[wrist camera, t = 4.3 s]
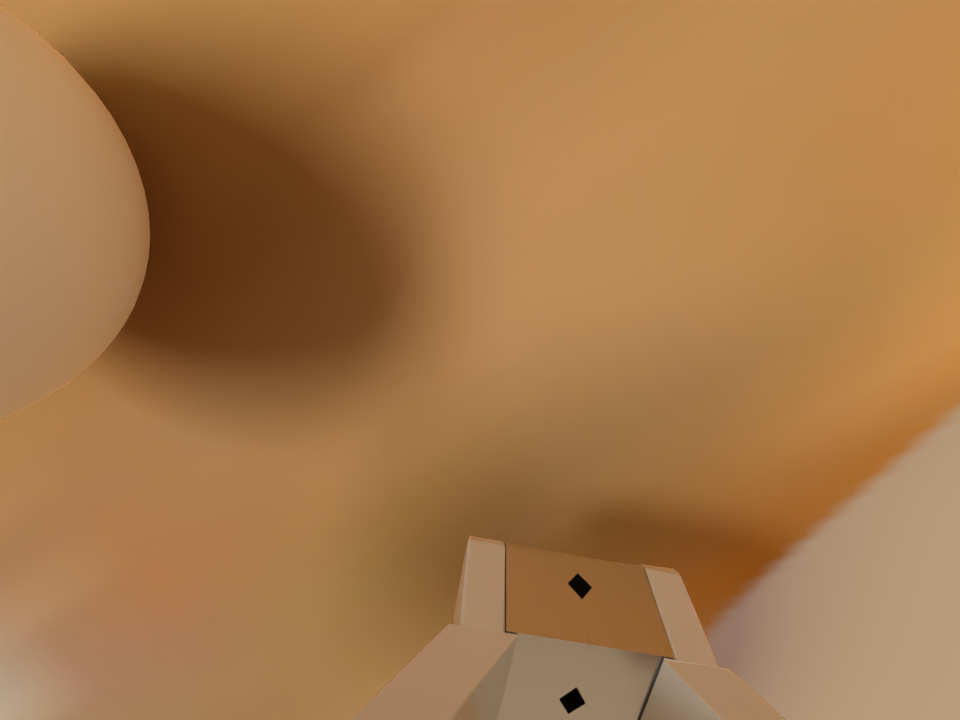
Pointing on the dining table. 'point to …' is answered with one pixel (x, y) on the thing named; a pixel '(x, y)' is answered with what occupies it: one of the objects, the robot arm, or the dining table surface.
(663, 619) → the robot arm
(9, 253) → the cue ball
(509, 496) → the dining table surface
